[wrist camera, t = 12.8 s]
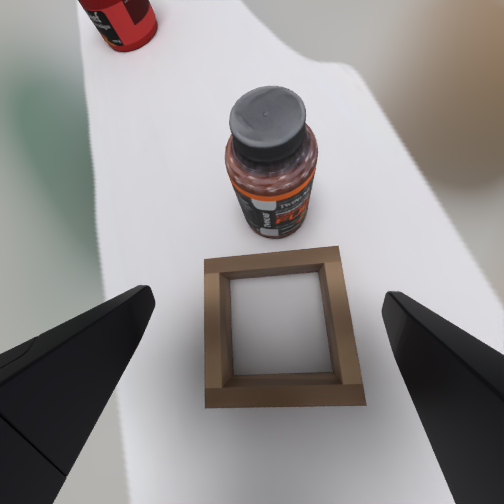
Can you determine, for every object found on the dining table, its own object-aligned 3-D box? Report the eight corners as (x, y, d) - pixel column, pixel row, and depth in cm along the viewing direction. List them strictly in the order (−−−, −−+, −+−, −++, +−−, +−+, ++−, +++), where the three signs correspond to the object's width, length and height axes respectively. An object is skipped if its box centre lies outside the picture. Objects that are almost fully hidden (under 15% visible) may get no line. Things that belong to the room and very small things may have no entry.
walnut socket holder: (351, 388, 18) (366, 405, 14) (219, 392, 19) (204, 408, 16) (330, 257, 20) (338, 245, 17) (216, 268, 22) (204, 259, 18)
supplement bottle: (284, 252, 21) (280, 185, 10) (233, 220, 23) (186, 134, 12) (319, 202, 22) (349, 93, 11) (268, 174, 24) (252, 56, 13)
